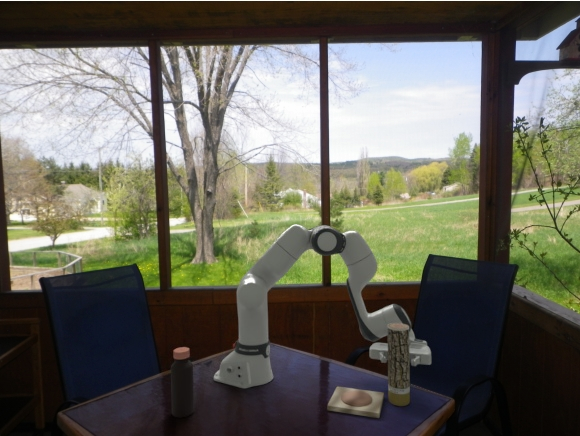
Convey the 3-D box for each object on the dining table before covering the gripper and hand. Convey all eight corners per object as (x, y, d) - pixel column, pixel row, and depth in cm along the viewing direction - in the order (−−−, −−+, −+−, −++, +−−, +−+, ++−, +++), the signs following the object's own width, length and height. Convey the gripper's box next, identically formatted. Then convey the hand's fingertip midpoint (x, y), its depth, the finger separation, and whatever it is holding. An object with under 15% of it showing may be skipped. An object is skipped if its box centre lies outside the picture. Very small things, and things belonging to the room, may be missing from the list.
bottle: (182, 420, 121) (180, 355, 120) (167, 414, 125) (165, 351, 124) (198, 410, 127) (197, 348, 126) (183, 405, 130) (182, 344, 130)
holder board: (327, 410, 126) (327, 404, 125) (337, 390, 139) (337, 385, 139) (379, 418, 120) (378, 412, 120) (384, 397, 133) (384, 391, 133)
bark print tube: (410, 408, 126) (410, 329, 125) (388, 406, 127) (387, 328, 127) (409, 397, 132) (408, 323, 132) (387, 396, 134) (387, 322, 133)
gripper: (371, 336, 145) (365, 349, 132) (431, 341, 138) (431, 355, 125) (371, 353, 145) (366, 367, 132) (431, 359, 138) (431, 375, 125)
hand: (398, 362), depth 129 cm, fingers open, 8 cm apart
